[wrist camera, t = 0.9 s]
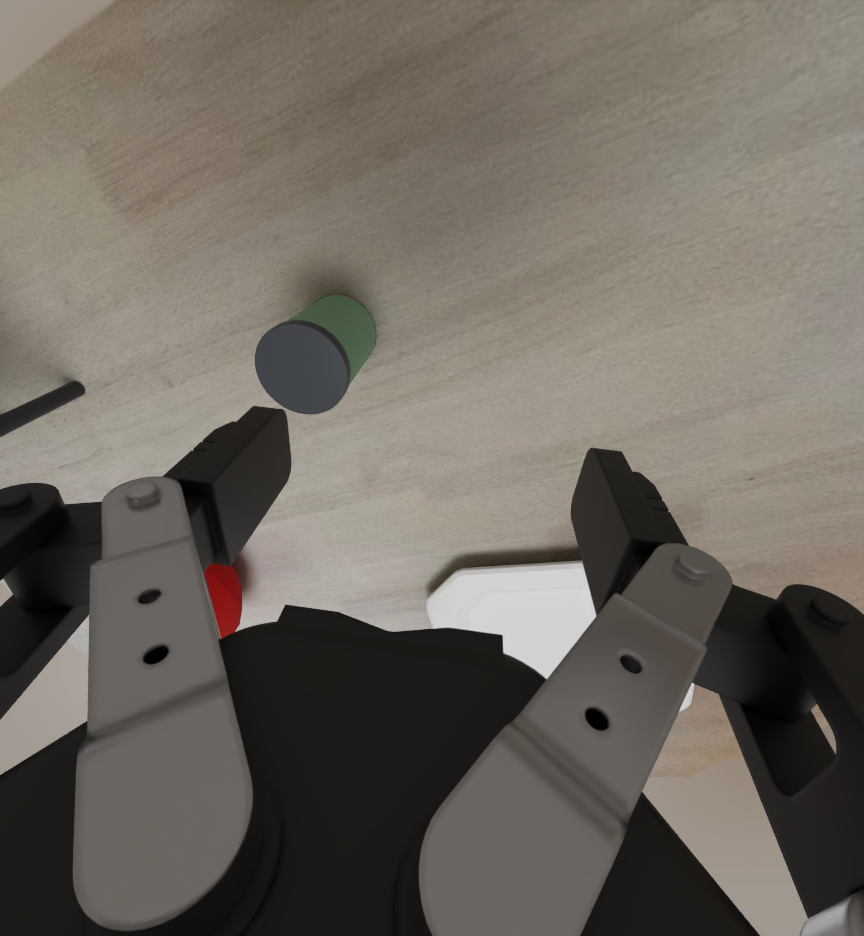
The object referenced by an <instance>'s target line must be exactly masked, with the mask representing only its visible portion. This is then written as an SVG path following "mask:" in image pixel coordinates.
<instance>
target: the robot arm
mask: <svg viewBox="0 0 864 936" xmlns="http://www.w3.org/2000/svg"><path fill="white" fill-rule="evenodd" d="M290 471H291V452H290V442H289V433H288V423H287V416H286V413H285V411H284V410H282V409H275V408H267V407H259V406H253V407H252V408H251V409H250V410H249V411H247V412H246V413H245V414H244V415H243V416H242V417H241V418H240V419H239V420H238V421H237V422H230V423H228V424H226V425H224V426H222V427H219V428H217V429H215V430H214V431H213V432H212V433H210V434H209V435H208V436H207V437H206V438H205V439H204V440H203V442H200V443H199V444H198V445H197V446H196V447H195V448H194V451H190V452H189V453H188V454H187V455H186V456H185V457H184V458H183V459H182V460H180V461H179V462H178V463H177V464H176V465H175V466H174V467H173V468H172V469H170V470H169V471H168V472H167V473H166V474H165V475H164V476H163V477H144V478H139V479H135V480H132V481H128V482H126V483H123V484H121V485H119V486H117V487H116V488H114V489H113V490H111V491H110V492H109V493H108V494H107V495H106V496H105V497H104V499H103V501H102V502H92V503H79V504H64V502H63V500H62V498H61V495H60V493H59V491H58V489H57V488H56V487H54V486H52V485H49V484H44V483H27V484H20V485H15V486H10V487H7V488H3V489H0V580H2V579H3V578H4V580H5V582H6V583H7V585H8V587H9V588H10V590H11V591H12V593H13V595H12V596H11V597H10V598H9V599H8V600H7V601H6V602H5V603H4V604H3V605H2V606H1V607H0V719H1V718H2V717H3V716H4V715H5V713H6V712H7V711H8V710H9V709H10V707H11V706H12V705H13V704H14V703H15V702H16V700H17V699H18V698H19V697H20V696H21V695H22V693H23V692H24V691H25V690H26V689H27V687H28V686H29V685H30V684H31V683H32V681H33V680H34V679H35V678H36V677H37V676H38V674H39V673H40V672H41V671H42V670H43V668H44V667H45V666H46V665H47V664H48V663H49V661H50V660H51V659H52V658H53V656H54V655H55V654H56V653H57V652H58V650H59V649H60V648H61V647H62V646H63V645H64V644H65V642H66V641H67V640H68V639H69V638H70V636H71V635H72V634H73V633H74V632H75V631H76V629H77V628H78V627H79V626H80V625H81V623H82V622H83V621H84V620H85V619H86V618H87V616H88V615H89V667H88V721H86V722H85V723H83V724H82V725H80V726H78V727H77V728H75V729H74V730H72V731H70V732H69V733H68V734H66V735H64V736H63V737H61V738H59V739H58V740H56V741H55V742H53V743H51V744H50V745H48V746H46V747H45V748H43V749H42V750H40V751H38V752H37V753H35V754H33V755H32V756H30V757H29V758H27V759H26V760H24V761H22V762H21V763H19V764H17V765H16V766H14V767H13V768H11V769H9V770H8V771H6V772H5V773H3V774H1V775H0V936H760V935H759V934H758V933H757V931H756V930H755V929H754V928H753V927H752V925H751V924H750V923H749V922H748V920H747V919H746V918H745V917H744V916H743V914H742V913H741V912H740V911H739V909H738V908H737V907H736V906H735V905H734V903H732V901H731V900H730V899H729V897H728V896H727V895H726V894H725V892H724V891H723V890H722V889H721V888H720V886H719V885H718V884H717V883H716V881H715V880H714V879H713V878H712V877H711V875H710V874H709V873H708V872H707V870H706V869H705V868H704V867H703V866H702V864H701V863H700V862H699V861H698V860H697V858H696V857H695V856H694V855H693V853H692V852H691V851H690V850H689V849H688V847H687V846H686V845H685V844H684V842H683V841H682V840H681V839H680V838H679V836H678V835H677V834H676V833H675V832H674V830H673V829H672V828H671V827H670V826H669V824H668V823H667V822H666V820H665V819H664V818H663V817H662V816H661V814H660V813H659V812H658V811H657V809H656V808H655V807H654V806H653V805H652V804H651V802H650V801H649V800H648V799H647V798H646V796H645V795H644V794H643V792H642V790H643V788H644V786H645V784H646V782H647V779H648V777H649V775H650V773H651V771H652V769H653V766H654V764H655V762H656V760H657V758H658V755H659V753H660V751H661V749H662V747H663V745H664V742H665V740H666V738H667V736H668V734H669V732H670V729H671V727H672V725H673V723H674V721H675V719H676V716H677V714H678V712H679V710H680V708H681V706H682V703H683V701H684V699H685V697H686V695H687V693H688V690H689V688H690V686H691V684H692V683H694V684H696V685H699V686H701V687H703V688H706V689H708V690H711V691H713V692H715V693H718V694H719V696H720V699H721V701H722V704H723V706H724V709H725V711H726V714H727V716H728V719H729V721H730V724H731V726H732V729H733V731H734V734H735V736H736V739H737V741H738V744H739V746H740V749H741V751H742V754H743V756H744V759H745V761H746V764H747V766H748V769H749V771H750V773H751V776H752V779H753V782H754V784H755V786H756V789H757V792H758V794H759V797H760V799H761V802H762V804H763V806H764V809H765V812H766V814H767V816H768V819H769V822H770V824H771V827H772V829H773V832H774V834H775V837H776V839H777V841H778V844H779V847H780V849H781V852H782V854H783V857H784V859H785V862H786V864H787V866H788V869H789V872H790V874H791V877H792V879H793V882H794V884H795V887H796V889H797V892H798V894H799V897H800V899H801V902H802V904H803V907H804V909H805V912H806V914H807V917H808V920H807V921H806V922H805V923H804V925H803V927H802V928H801V932H800V936H864V615H863V614H862V613H861V612H860V611H859V610H857V609H856V608H855V607H854V606H852V605H851V604H849V603H848V602H846V601H845V600H843V599H841V598H840V597H838V596H836V595H834V594H832V593H830V592H827V591H825V590H822V589H819V588H816V587H813V586H808V585H801V584H794V585H790V586H787V587H786V588H785V589H784V590H783V591H782V592H781V594H780V595H779V597H778V598H777V599H773V598H770V597H767V596H764V595H761V594H758V593H755V592H752V591H749V590H746V589H744V588H741V587H738V586H735V585H733V584H732V579H731V576H730V574H729V572H728V571H727V570H726V568H725V567H724V566H723V565H722V564H721V563H720V562H719V561H717V560H716V559H715V558H713V557H712V556H710V555H709V554H707V553H705V552H703V551H701V550H699V549H697V548H694V547H691V546H689V545H688V543H687V542H686V540H685V538H684V536H683V535H682V533H681V531H680V529H679V527H678V526H677V524H676V522H675V520H674V519H673V517H672V515H671V513H670V512H668V508H667V506H666V505H665V503H664V501H662V497H661V496H660V494H659V492H658V490H657V489H656V487H655V485H654V484H653V483H651V482H650V481H649V480H648V479H647V478H645V477H644V476H643V475H642V474H641V473H639V472H632V470H631V468H630V466H629V464H628V463H627V461H626V459H625V457H624V455H623V453H622V452H621V451H614V450H606V449H598V448H590V449H589V450H588V452H587V454H586V457H585V460H584V463H583V466H582V469H581V473H580V476H579V479H578V482H577V485H576V488H575V492H574V495H573V498H572V504H571V520H572V524H573V528H574V532H575V535H576V539H577V543H578V547H579V551H580V555H581V559H582V563H583V566H584V570H585V574H586V578H587V582H588V586H589V590H590V593H591V597H592V601H593V605H594V609H595V613H596V617H595V619H594V620H593V621H592V623H591V624H590V625H589V626H588V628H587V629H586V630H585V631H584V633H583V634H582V635H581V637H580V638H579V639H578V640H577V642H576V643H575V644H574V645H573V647H572V648H571V649H570V651H569V652H568V653H567V654H566V656H565V657H564V658H563V659H562V661H561V662H560V663H559V665H558V666H557V667H556V668H555V670H554V671H553V672H552V673H551V675H550V676H549V677H548V679H546V678H545V677H544V676H542V675H541V674H540V673H539V672H537V671H536V670H535V669H533V668H532V667H530V666H528V665H527V664H525V663H524V662H522V661H520V660H518V659H516V658H514V657H512V656H510V655H507V654H505V653H503V635H499V634H492V633H485V632H477V631H470V630H463V629H456V628H449V627H448V628H436V629H424V630H412V631H400V632H390V631H386V630H383V629H380V628H378V627H375V626H373V625H370V624H368V623H365V622H362V621H360V620H357V619H355V618H352V617H350V616H347V615H344V614H342V613H339V612H334V611H327V610H320V609H313V608H306V607H298V606H291V605H285V607H284V609H283V611H282V613H281V615H280V617H279V619H278V621H277V622H270V623H265V624H259V625H255V626H252V627H248V628H245V629H242V630H239V631H237V632H234V633H232V634H229V635H227V636H225V637H223V638H221V637H220V633H219V629H218V625H217V621H216V617H215V613H214V609H213V605H212V601H211V597H210V593H209V589H208V585H207V581H206V577H205V573H204V572H205V570H206V569H207V568H208V566H209V565H210V564H216V565H223V566H231V565H232V563H233V562H234V560H235V559H236V557H237V556H238V554H239V553H240V551H241V550H242V548H243V547H244V545H245V544H246V542H247V541H248V539H249V538H250V536H251V535H252V533H253V532H254V531H255V529H256V528H257V526H258V525H259V523H260V522H261V520H262V519H263V517H264V516H265V514H266V513H267V511H268V510H269V508H270V507H271V505H272V504H273V502H274V501H275V499H276V498H277V496H278V495H279V493H280V492H281V490H282V489H283V487H284V486H285V484H286V483H287V481H288V479H289V475H290ZM816 704H818V706H819V708H820V710H821V711H822V713H823V715H824V716H825V718H826V720H827V722H828V723H829V725H830V727H831V729H832V731H833V733H834V736H835V740H836V755H835V753H834V751H833V749H832V747H831V746H830V744H829V742H828V740H827V739H826V737H825V735H824V733H823V731H822V730H821V728H820V726H819V724H818V723H817V721H816V719H815V717H814V715H813V714H812V712H811V709H812V708H813V707H814V706H815V705H816Z"/></svg>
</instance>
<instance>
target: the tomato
mask: <svg viewBox="0 0 864 936" xmlns="http://www.w3.org/2000/svg"><path fill="white" fill-rule="evenodd" d="M204 573H205V577H206V581H207V585H208V589H209V593H210V597H211V601H212V605H213V609H214V613H215V617H216V621H217V625H218V629H219V633H220V637H221V638H223V637H225V636H227V635H229V634H232V633H234V632H235V631H236V629H237V627H238V626H239V624H240V618H241V612H242V587H241V584H240V581H239V579H238V576H237V573H236V571H235V569H234V568H233V567H232V565H231V566H223V565H216V564H210V565H209V566H208V568H207V569H206V570H205V572H204Z"/></svg>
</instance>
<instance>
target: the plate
mask: <svg viewBox="0 0 864 936" xmlns="http://www.w3.org/2000/svg"><path fill="white" fill-rule="evenodd" d="M426 608H427V611H428V615H429V618H430V622H431V625H432V628H433V629H436V628H448V627H449V628H456V629H463V630H470V631H477V632H485V633H492V634H499V635H503V653H505V654H507V655H510V656H512V657H514V658H516V659H518V660H520V661H522V662H524V663H525V664H527V665H528V666H530V667H532V668H533V669H535V670H536V671H537V672H539V673H540V674H541V675H542V676H544V677H545V678H546V679H548V677H549V676H550V675H551V673H552V672H553V671H554V670H555V668H556V667H557V666H558V665H559V663H560V662H561V661H562V659H563V658H564V657H565V656H566V654H567V653H568V652H569V651H570V649H571V648H572V647H573V645H574V644H575V643H576V642H577V640H578V639H579V638H580V637H581V635H582V634H583V633H584V631H585V630H586V629H587V628H588V626H589V625H590V624H591V623H592V621H593V620H594V619H595V617H596V613H595V609H594V605H593V601H592V597H591V593H590V590H589V586H588V582H587V578H586V574H585V570H584V566H583V563H582V560H580V561H565V562H549V563H534V564H518V565H503V566H488V567H472V568H462V569H459V570H457V571H455V572H454V573H453V574H452V575H451V576H449V577H448V578H447V579H446V580H445V581H444V582H443V583H442V584H441V585H440V586H439V587H438V588H437V589H436V590H435V591H434V592H433V593H432V594H431V595H430V596H429V597H428V598H427V601H426ZM693 689H694V683H692V684H691V686H690V688H689V690H688V693H687V695H686V697H685V699H684V701H683V703H682V706H681V708H680V710H679V712H680V711H682V710H684V709H686V708H687V707H688V706H689V705H690V704H691V701H692V695H693Z"/></svg>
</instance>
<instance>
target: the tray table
mask: <svg viewBox="0 0 864 936" xmlns="http://www.w3.org/2000/svg"><path fill="white" fill-rule="evenodd" d="M84 393H85V390H84V388H83V386H82V385H81V384H79V383H78V382H70V383H68V384H66V385H64V386H62V387H60V388H58V389H55V390H53V391H51V392H49V393H47V394H45V395H43V396H40V397H38V398H36V399H34V400H32V401H30V402H27V403H25V404H23V405H21V406H19V407H17V408H15V409H12V410H10V411H8V412H6V413H4V414H2V415H0V437H2V436H4V435H6V434H8V433H9V432H11V431H13V430H15V429H17V428H19V427H21V426H23V425H25V424H27V423H29V422H31V421H33V420H35V419H37V418H39V417H41V416H43V415H45V414H47V413H49V412H51V411H53V410H55V409H57V408H58V407H60V406H62V405H64V404H66V403H68V402H70V401H72V400H74V399H76V398H78V397H80V396H82V395H84Z"/></svg>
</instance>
